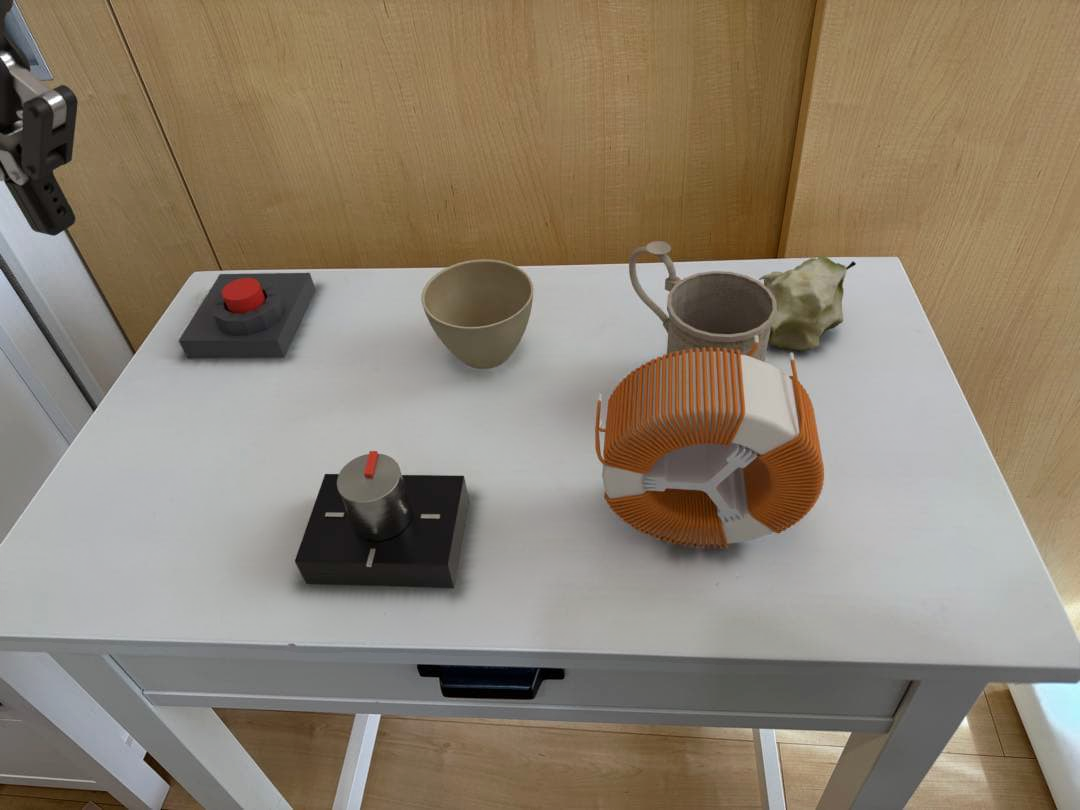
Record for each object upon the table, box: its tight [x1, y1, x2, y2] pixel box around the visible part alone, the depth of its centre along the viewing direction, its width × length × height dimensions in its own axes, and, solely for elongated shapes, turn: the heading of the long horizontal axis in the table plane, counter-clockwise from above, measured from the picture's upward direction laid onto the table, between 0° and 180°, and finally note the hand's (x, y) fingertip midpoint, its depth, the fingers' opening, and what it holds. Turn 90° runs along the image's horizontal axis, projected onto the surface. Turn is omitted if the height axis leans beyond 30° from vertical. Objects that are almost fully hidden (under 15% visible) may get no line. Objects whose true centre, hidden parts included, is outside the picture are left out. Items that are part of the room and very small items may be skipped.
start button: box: [222, 278, 265, 313], centre depth 74 cm, size 4×4×2 cm
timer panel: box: [294, 473, 470, 589], centre depth 57 cm, size 11×9×3 cm
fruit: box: [758, 254, 857, 352], centre depth 70 cm, size 9×9×8 cm
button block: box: [178, 272, 316, 358], centre depth 77 cm, size 11×10×4 cm
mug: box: [628, 240, 777, 362], centre depth 64 cm, size 14×10×12 cm
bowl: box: [421, 258, 534, 370], centre depth 70 cm, size 10×10×7 cm
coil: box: [594, 335, 825, 549], centre depth 53 cm, size 7×15×15 cm, turn 83°
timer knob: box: [337, 450, 412, 541], centre depth 54 cm, size 4×4×5 cm
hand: (56, 227), depth 50 cm, fingers closed
